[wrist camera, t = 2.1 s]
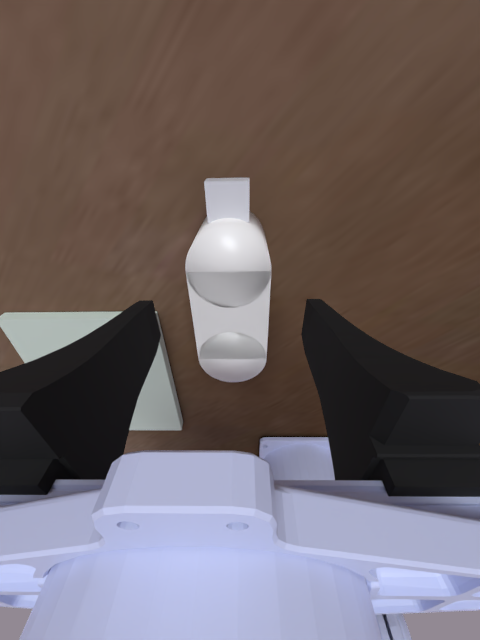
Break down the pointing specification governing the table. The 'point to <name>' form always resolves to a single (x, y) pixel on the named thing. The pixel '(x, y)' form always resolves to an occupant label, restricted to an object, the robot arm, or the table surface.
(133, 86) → the table surface
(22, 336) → the sage pad
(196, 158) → the table surface
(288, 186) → the table surface
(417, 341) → the table surface
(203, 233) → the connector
